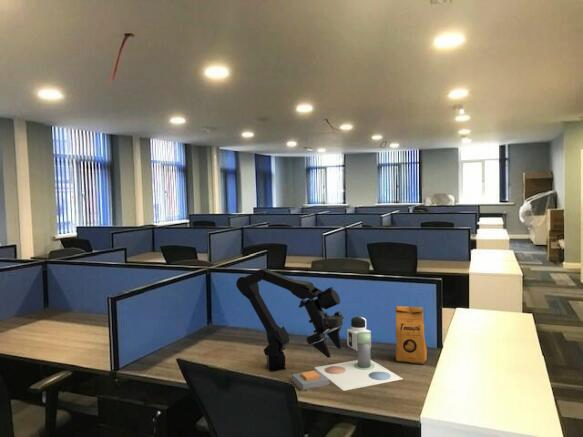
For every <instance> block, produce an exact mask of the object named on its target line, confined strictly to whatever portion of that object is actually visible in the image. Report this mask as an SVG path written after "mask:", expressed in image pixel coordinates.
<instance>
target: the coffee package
mask: <svg viewBox="0 0 583 437" xmlns="http://www.w3.org/2000/svg"><path fill="white" fill-rule="evenodd" d="M395 321H396V322H395V340H396V346H395V361H397V362H405V363H411V364H420V365H425V362H426V361H427V360H428V359H427V357H428V356H427V354H428V353H427V352H428V346H427V342H426V340H425V323H424V308H423V306H422V307H419V306H405V305H404V306H401V305H395Z"/></svg>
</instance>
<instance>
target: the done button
mask: <svg viewBox="0 0 583 437" xmlns="http://www.w3.org/2000/svg"><path fill="white" fill-rule="evenodd" d="M300 373H301V377H302V378H303V379H305V380H306V381H309V380H314V379H320V375H318V374H317V373H316V372H315V371H314V370H309V371H304V372H300Z"/></svg>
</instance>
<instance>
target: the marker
mask: <svg viewBox="0 0 583 437" xmlns="http://www.w3.org/2000/svg"><path fill="white" fill-rule="evenodd" d="M356 354H357V358H356V360H358V367H360V368H369V367H371V360H372V358H371V357H372V356H371V355H372V354H371V348H370V333H368V332H359V333H357V352H356Z"/></svg>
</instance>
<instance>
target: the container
mask: <svg viewBox="0 0 583 437" xmlns="http://www.w3.org/2000/svg"><path fill="white" fill-rule="evenodd" d="M350 323H351V324H350V327H351V328H347V330H346V335H347V336H346V339H347V340H346V342H347V343H346V344H347V347H349V348H350V349H353V350H354V351H357V333H359V332H368V333H370V349H371V348H372V331H371V330H370V329H367V319H366V317H363V316H354V317H352V318H351V319H350Z"/></svg>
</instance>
